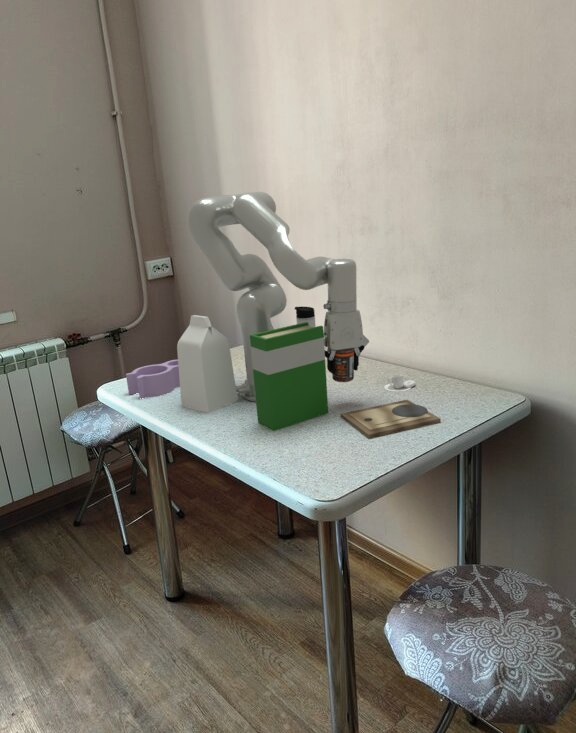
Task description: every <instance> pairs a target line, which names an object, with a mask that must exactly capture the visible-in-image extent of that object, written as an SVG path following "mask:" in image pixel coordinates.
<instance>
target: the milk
mask: <svg viewBox="0 0 576 733" xmlns="http://www.w3.org/2000/svg"><path fill="white" fill-rule="evenodd" d="M176 351H177V360H178V366H179V379H180V387H179V390H180V392H179V393H180V404H181V406H182V407H186V408H189V409H192V410H196V411H200V412H203V413H205V414H210V413H213V412H215V411H217V410H220V409H223V408H225V407H227V406H229V405H232V404H234V403H236V402H238V401H239V397H238V392H237V391H236V386H237V384H236V380H235V379H236V377H235V371H234V366H233V361H232V360H233V359H232V352H231V348H230V343H229V339H228V338H227V337H226V336H225V335H224V334H222V333H221V332H219V331H218V330H217V329H216V328H215V327H213V325H212V322H211V321H210V318H209V316H205V315H197V314H193V315H190V320H189V325H188V327H186V329H185V330H184V332H183V333H182V335H181V336H180V338H179V340H178V341H177V345H176Z"/></svg>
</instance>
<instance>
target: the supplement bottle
mask: <svg viewBox="0 0 576 733" xmlns="http://www.w3.org/2000/svg"><path fill="white" fill-rule="evenodd" d="M334 360H335V372H336V373H335V374H332V373H331V377H332V380H334V381H335V382H338V383H347V382H348V383H349V382H351V381H353V380H354V379H355V378H354V377H355V370H354V349H353V348H352V349H345V350H338V351H336V352H335V355H334Z"/></svg>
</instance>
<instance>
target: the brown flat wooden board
mask: <svg viewBox="0 0 576 733" xmlns="http://www.w3.org/2000/svg"><path fill="white" fill-rule="evenodd" d="M340 418H341V419H343V420H344V422H346V423H347V424H349V425H351V427H353V428H354V429H356V430H357V431H358V432H360V433H361V434H362V435H364V437H366V438H368V439H372V438H376V437H377V438H378V437H381V436H386V435H390V434H395V433H400V432H403V431H408V430H412V429H416V428H421V427H425V426H430V425H434V424H438V423H439V424H440V423H441V421H442V420H441V419H442V418H441V417H438V416H437V415H435V414H434V413H432V412H430V411H428V409H427V407H425V406H424V405H420V404H416V403H415V402H412V401H410V400H409V399H403V400H399V401H394V402H391V403H384V404H380V405H374V406H371V407H365V408H361V409H356V410H350V411H346V412H342V413H340Z"/></svg>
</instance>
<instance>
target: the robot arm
mask: <svg viewBox="0 0 576 733" xmlns="http://www.w3.org/2000/svg"><path fill="white" fill-rule="evenodd" d="M276 210H277V204H276V201H275V200H274V198H273V197H272V196H271V195H270V194H268V193H267V192H264V191H253V192H246V193H245V192H244V193H240V194H238V193H237V194H226V195H216V196H207V197H202V198H200V199H198V200H197V201H195V202H194V203H193V204H192V205H191V207H190V209H189V211H188V215H187V216H188V217H187V225H188V230H189V233H190V235H191V237H192V239H193V241H194V242H195V244H196V245H197V247H198V248H199V249H200V250H201V252H202V254H204V256H205V258H206V259H207V260H208V262H209V264H210V266H212V268H213V270H214V272H215V273H216V274H217V276H218V278H219V279H220V281H221V282H222V284H223V285H224V287H226V288H227V289H228V290H229V291H233V292H239V291H242V290H245V289H249V290H248V291H246V292H244V293H243V294H242V295H241V296H240V297H238V298H239V299H238V300H237V303H236V315H237V318H238V322H239V325H240V330H241V337H242V344H243V354H244V364H245V373H246V374H245V375H246V379H245V380H243V381H244V383H242V384H241V385H236V391H237V394H239V395H241V394H242V395H243V398H244V399H245V400H248V401H251V402H256V395H255V385H254V375H253V364H252V354H251V344H250V335H252V334H256V333H260V332H265V331H269V330H274V326H273V324H272V321H271V318H273V317H275V316H278V315H279V314H282V312H283V311H284V310H285V309H286V306H287V303H288V302H287V301H288V300H287V296H286V293H285V290H284V288H283V287H282V286H281V284H280V283H279V280H278V279H277V277H276V276H275V275H274V274H273V272H272V271H271V269H270V267H269V266H268V264H267V263H266V262H265V261H264V260H263V258H261V257H259V255H256V254H253V253H246V254H241V253H240V252H239V251H238V249H237V248H236V247H235V245H234V243H233V242H232V241H231V239H230V238H229V237H228V236H227V235H226V234H224V232H222V231H221V230H220V229H219V227H220V228H221V227H226V226H232V225H241V226H242V228H244V229H245V230H246V231H247V232H249V233H250V234H251V235H252V236H253V237H254V238H255V239H256V240H257V241H258V242H259V243H260V244H262V246H264V247H265V249H266V250H267V252H268V255H269V257H270V259H271V261H272V263H273V267H275V268H276V270H277V271H278V272H279V273H280V274H281V275H282V276H283V277H284V278H285V279H286V280H287V281H288V282H290V283H291V285H293V287H296V288H298V289H299V290H302V291H303V290H304V291H309V290H312V289H315V288H318V287H320V286H323V285H325V284H327V302H326V303H324V304H323V309H324V310H327V311H325V316H324V321H323V322H324V323H323V333H324V348H325V347H326V348H327V349H324V350H325V359H326V365H327V367H326V368H327V371H328V372H329V373H331V375H332V374H335V373H336V372H335V360H334V355H335V352H336V351H338V350H345V349H352V348H353V349H354V372H355V371H358V369H359V365H360V360H359V357H360V356H361V354H362V352H363V351H364V350H365V347H367V345H368V344H369V343H370V340H369V338H368V337H366V336H365V334H364V331H363V330H364V329H363V321H362V316H361V312H360V310H359V309H357V302H358V301H357V264H356V261H355V260H353V259H350V258H331V257H325V256H315V257H312V258H308V259H305V258H304V257H303V256H302V255H300V254H299V253H298V252H297V250H296V249H295V248H294V247H293V246H292V244H291V243H290V241H289V234H290V225H288V223H287V222H286V221H284V220H283V219H282V218H281V217H280V216H279V215H278V214H276Z"/></svg>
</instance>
